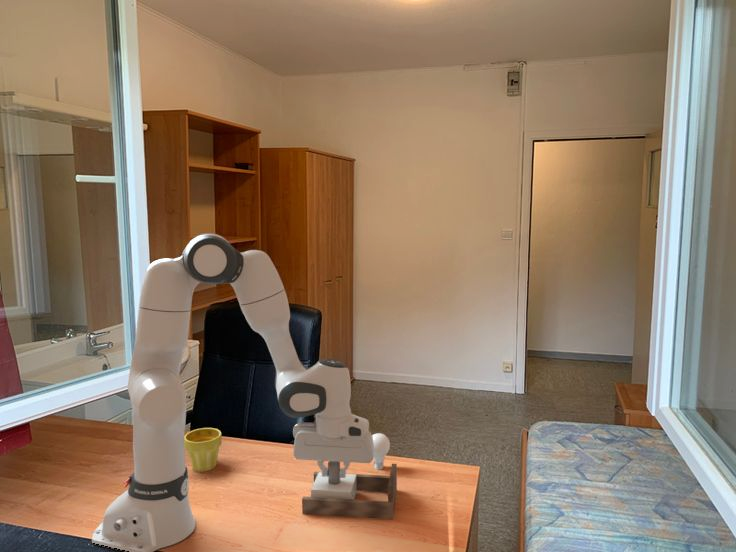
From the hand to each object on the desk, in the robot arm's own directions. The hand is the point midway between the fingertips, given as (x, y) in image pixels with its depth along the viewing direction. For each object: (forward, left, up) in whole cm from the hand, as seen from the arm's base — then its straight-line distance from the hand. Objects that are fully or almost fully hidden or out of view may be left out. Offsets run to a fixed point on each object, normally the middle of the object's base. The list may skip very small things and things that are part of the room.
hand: (334, 476), depth 138 cm
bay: (+4, 0, -8) cm, 9 cm away
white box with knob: (0, 0, -6) cm, 7 cm away
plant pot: (-42, +16, -8) cm, 45 cm away
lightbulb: (+9, +19, -8) cm, 23 cm away
